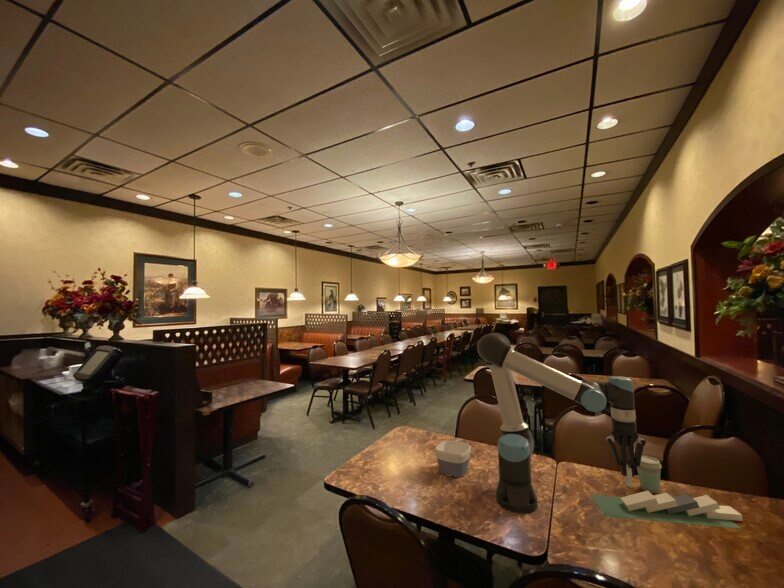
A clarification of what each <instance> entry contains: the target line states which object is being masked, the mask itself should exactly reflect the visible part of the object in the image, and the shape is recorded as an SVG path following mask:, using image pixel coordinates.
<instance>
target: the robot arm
mask: <svg viewBox="0 0 784 588" xmlns="http://www.w3.org/2000/svg"><path fill="white" fill-rule="evenodd" d="M476 350H477V353H478V355H479V357H480V358H481V359H482V360H484V363H485V366H486V367H487V368H489V369H490V373H491V377H492V378H491V379H492V382H493V386H494V390H495V394H496V399H497V404H498V408H499V412H500V416H501V420H502V421H501V422H502V424H501V426H500V427H499V428H500V432H501V435H500V437H499V438H498V440H497V454H498V473H499V474H498V475H499V476H498V478H499V480H498V483H497V485H496V489H495V501H496V503H497V504H498V505H499V506H500V507H501V508H503V509H505V510H507V511H510V512H513V513H517V514H529V513H533V512H534V511H537V508H538V496H537V495H536V492H535V489H534V486H533V483H532V471H531V470H532V469H531V461H532V457H533V452H534V450H535V439H534V436H533V435H532V433H531V430H530V427H529V424H528V423H526V421H524V418H523V414H522V409H521V406H520V400H519V397H518V393H517V389H516V384H515V382H514V376H513V372H514V373H517V374H519V375H521V376H523V377H525V378H526V379H529V380H531V381H533V382H535V383H537V384H539V385H541V386H544V387H545V388H546V389H550V390H551V391H554V392H555V393H558V394H560V395H562V396H564V397H566V398H568V399H570V400H572V401H573V402H576V403H578V404H580V405H581V406H582V407H584V408H585V409H586V410H587V411H589V412H592V413H599V412H603V410H604V409H605V408H606V407H607V403H610V414H611V415H610V416H611V427H612V431H611V434H610V435H608V436H605V437H604V439H605V440H606V442H607V443H608V447H609V449H610V453H611V456H612V458H613V462H614V463H615V464H616V465H617V466H620V473H621V476H623V480H624V484H625V485H626V486H627V487H629V488H630V487H631V488H633V487H634V485H633V478H634V477H635V475H636V474H635V470H636V469H637V466H638V467H639V466H640V463H641V457H642V456H643V451H644V448H645V445H646V444H647V441H646V440H645V439H644V438H642V437H639V434H638V430H637V429H638V428H637V426H638V425H637V421H636V420H637V415H636V403H635V390H634V383H633V380H632V379H631V378H629V377H626V376H609V377H608V380H607V381H597V380H595V381H594V380H585V379H582V380H580V379H577V378H575V377H573V376H570V375H568V374H566V373H564V372H562V371H559V370H558V369H556V368H553V367H551V366H549V365H548V364H547V365H546V364H544V363H542V362H540V361H538V360H536V359H534V358H531V357H528V355H525V354H524V353H523V354H522V353H520V352H518V351H517V350H515V349H514V347H513V346H512V345H511V342H510V340H509V338H508V337H506V335H504V334H502V333H500V332H491V333H488V334H484V335H483V336H482V337H480V339H479V340H478V341H477V344H476ZM615 441H616V442H617V447H618V451H617V448H616V444H615ZM634 447H635V449H634Z"/></svg>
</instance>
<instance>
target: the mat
mask: <svg viewBox="0 0 784 588" xmlns="http://www.w3.org/2000/svg"><path fill="white" fill-rule="evenodd" d="M589 496H590V497H591V499H592V500H593V501H594V503H595V504H596V505H597V506H598V508H599V510H600V511H601V512H602V513H603V515H604V516H605V517H608V518H609V517H611V518H621V519H622V518H623V519H631V520H643V521H652V522H653V521H654V522H664V523H666V522H667V523H675V524H684V525H685V524H687V525H697V526H709V527H720V528H729V529H730V528H731V529H742V527H741V526H739V525H738V524H736V523H735V522H734V521H733V520H725V519H713V518H707V517H706V516H705V515H704V514H702V513H701V514H697V515H693V516H688V515H687V514H686V513H685V512H684V511H682V512H678V513H674V514H670V515H669V514H668V513H667V512H666V511H665V510H664V509H663V510H658V511H654V512H649V513H648V512H647V511H646V510H645V509H644V508H640V509H636V510H632V511H629V510H628V509H627V508H626V507H625V506H624V504H623V503H622V501H621V499H620V498H621V497H622V496H613V495H600V494H589Z"/></svg>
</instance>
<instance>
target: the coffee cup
mask: <svg viewBox="0 0 784 588" xmlns="http://www.w3.org/2000/svg"><path fill="white" fill-rule="evenodd" d="M662 468H663V467H662V464H661V461H660V460H659V459H658V458H655V457H652V456H649V455H642V457H641V463H640V466H639V467H638V466H636V470H637V475H638V480H639V485H640V489H642V490H643V491H649V492H650V493H651V494H658V493H659V494H660V492H661V491H660V490H661V489H660V488H661V487H660V486H661V469H662Z"/></svg>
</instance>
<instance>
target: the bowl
mask: <svg viewBox="0 0 784 588" xmlns="http://www.w3.org/2000/svg"><path fill="white" fill-rule="evenodd" d="M471 450H472V446H471V445H470V444H468V443H465V442H462V441H456V440H447V439H446V440H443V441H441V442H440V443H438V444H437V445H436V447H435V449H434V451H435V456H436V460H437V463H438V464H437V465H438V467H439V471H441V472H442V473H444V474H447V475H451V476H456V477H460V478H462V477H463V476H465V475H466V474H467V472H468V468H469V462H470V455H471V453H472V452H471ZM441 472H440V473H441ZM442 473H441V474H442ZM465 473H466V474H465ZM444 474H443V475H444ZM464 474H465V475H464ZM447 475H446V476H447ZM451 476H450V477H451ZM461 476H462V477H461ZM456 477H455V478H456Z"/></svg>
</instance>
